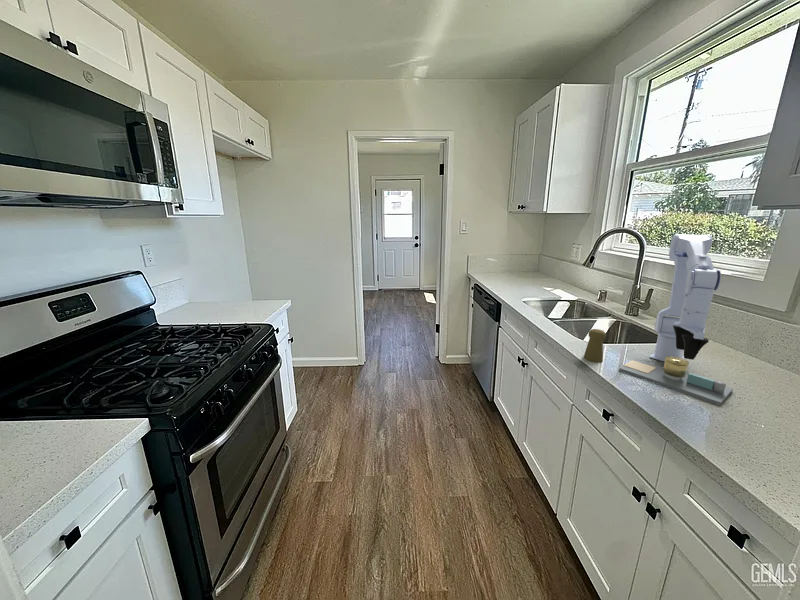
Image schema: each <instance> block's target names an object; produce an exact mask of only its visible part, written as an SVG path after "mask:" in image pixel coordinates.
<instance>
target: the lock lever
mask: <svg viewBox="0 0 800 600" xmlns="http://www.w3.org/2000/svg"><path fill="white" fill-rule="evenodd" d="M687 375H688V378H687V382H688V383H691V384H694V385H697V386H700V387H703V388H707V389H710V390H713V391H714V392H717V393H724V390H725V387H727V383H726V382H724V381H720V380H715V379H712V378H709V377H705V376H703V375H699V374H697V373H696V374H695V373H693V372H689V373H688V374H687Z"/></svg>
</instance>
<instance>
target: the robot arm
mask: <svg viewBox="0 0 800 600" xmlns="http://www.w3.org/2000/svg"><path fill="white" fill-rule="evenodd" d="M712 245H713V237H712V236H711V234H679V233H675V234H674V235H672V238H671V241H670V245H669V250H668V251H669V252H668V257H669V258H668V259H669V260H671V261H673V263H674V272H673V276H672V284H671V290H670V296H669V301H668V302H669V303H668V307H665V308H664V309H661V310H659V312H657V316H656V318H655V323H654V331H655V332H656V334H657V333H658V334H657V340H656V345H655V349H654V353H652V354H651V355H649V358H651V359H654V360H657V361H661V362H664V363H665V357H666V356H674V357H679V358H683V359H685V360H693V361H694V360H695V359H696V357H697V355H698V354H699V352H700V351H701V349H702V348H703V347H704V346H705V345H707V344H708V343H709V341H710V340H709V338H707V337H705V336H706V335H705V334H706V333H705V331H706V325H707V324H706V323H707V321H708V320H707V319H708V315H709V312H710V308H711V305H712V301H713V297H714V294H715V291H717V290H718V288H719V287H720V284H721V279H722V273H721V270H720V269H717V268H714V265H713V264H714V263H713V262H712V259H711V257H709V255H707V254H708V253H709V252H710V251H711V247H712Z"/></svg>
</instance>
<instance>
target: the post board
mask: <svg viewBox="0 0 800 600" xmlns="http://www.w3.org/2000/svg"><path fill="white" fill-rule="evenodd" d="M663 368H664V366H661V365H658V364H654V363H651V362H648V361H644V360H642V359H638V358H634V359H633V360H630V361H629V362H627V363H625V364H623V365H622V366H620V367H619V369H618V371H619V372H620V373H625V374H627V375H629V376H630V375H631V376H633V377H636V378H639V379H642V380H644V381H647V382H649V383H653V384H656V385H659V386H661V387H664V388H668V389H670V390H673V391H676V392H679V393H682V394H685V395H688V396H690V397H694V398H697V399H699V400H702V401H705V402H708V403H711V404H714V405H717V406H721V405H722V404H723V403H724V402H725V401H726V399H727V398H728V397H729V396H730V395H731V394H732V393H733V390H734V388H732V387H729V386H726V387H725V390H724V393H717V392H714V391H713V390H710V389H707V388H703V387H700V386H697V385H694V384H691V383H688V382H687V378H688V374H687V373H686V375H685V377H674V376H670V375H668V374H666V373H664V372H663Z"/></svg>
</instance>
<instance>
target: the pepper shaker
mask: <svg viewBox="0 0 800 600" xmlns="http://www.w3.org/2000/svg"><path fill="white" fill-rule="evenodd" d="M606 336H607V334H606V331H604V330H603V329H600V328H599V329H597V328H593V329H590V330H589V332H588V337H589V340H588V343H587V345H586V349H585V351H584V355H583V359H584V360H585V361H586V362H587V361H588V362H590V363H597V364H599V363H602V362H603V361H604V360H603V359H604V340H605V339H606Z"/></svg>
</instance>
